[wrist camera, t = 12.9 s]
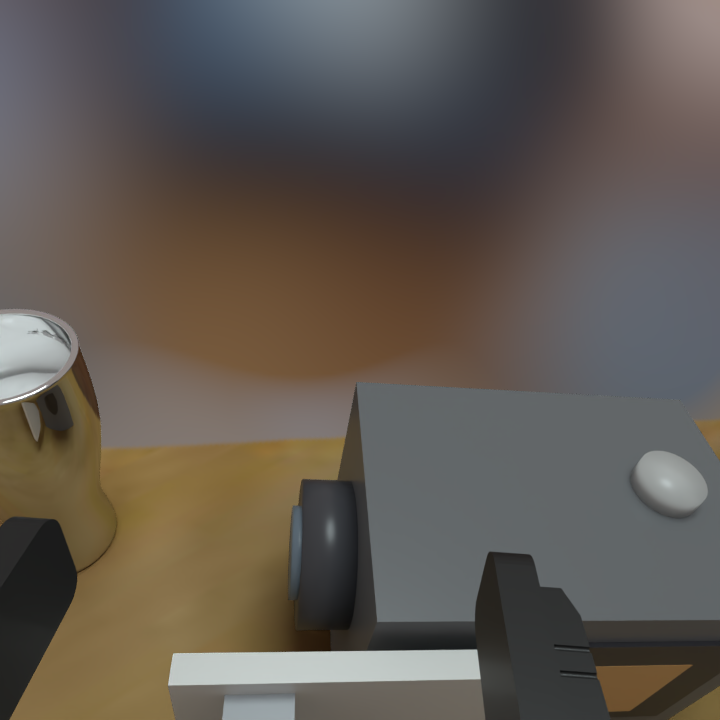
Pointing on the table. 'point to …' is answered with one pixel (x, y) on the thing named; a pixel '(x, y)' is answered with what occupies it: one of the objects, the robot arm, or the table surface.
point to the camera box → (520, 530)
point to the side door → (327, 685)
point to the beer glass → (51, 433)
